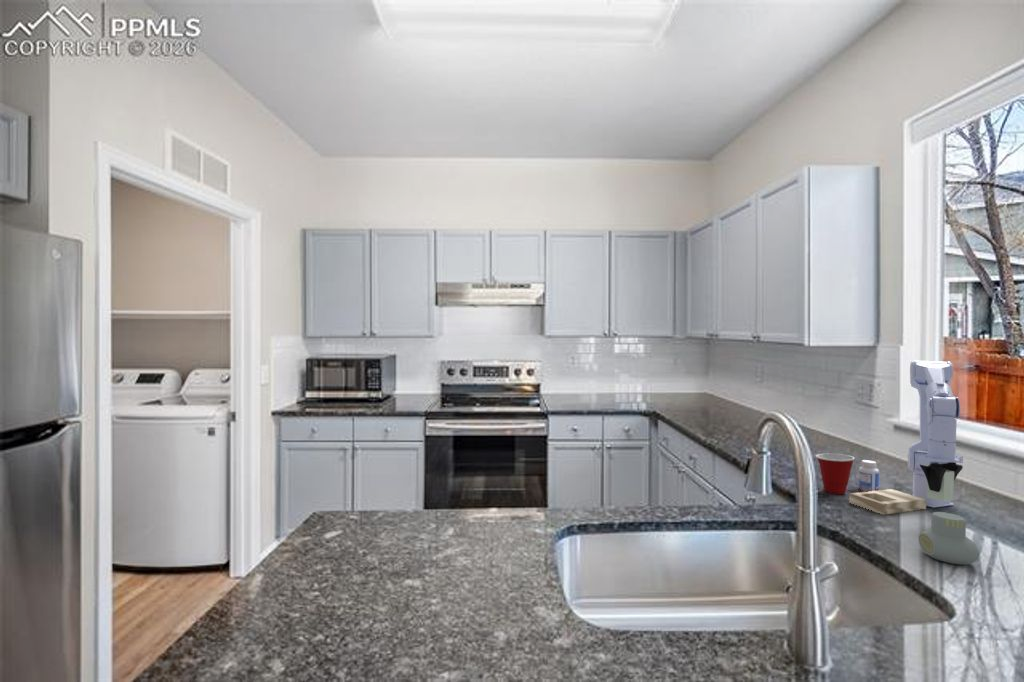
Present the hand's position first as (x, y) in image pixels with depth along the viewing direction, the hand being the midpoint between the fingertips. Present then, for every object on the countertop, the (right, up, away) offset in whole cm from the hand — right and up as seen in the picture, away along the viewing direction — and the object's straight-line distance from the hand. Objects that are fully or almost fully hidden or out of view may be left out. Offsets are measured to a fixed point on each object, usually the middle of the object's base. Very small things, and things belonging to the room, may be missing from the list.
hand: (940, 490), depth 135 cm
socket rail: (-4, -9, +14) cm, 17 cm away
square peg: (0, -2, 0) cm, 2 cm away
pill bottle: (+2, -9, +30) cm, 31 cm away
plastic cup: (-11, -9, +28) cm, 31 cm away
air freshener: (-17, -10, -22) cm, 29 cm away
